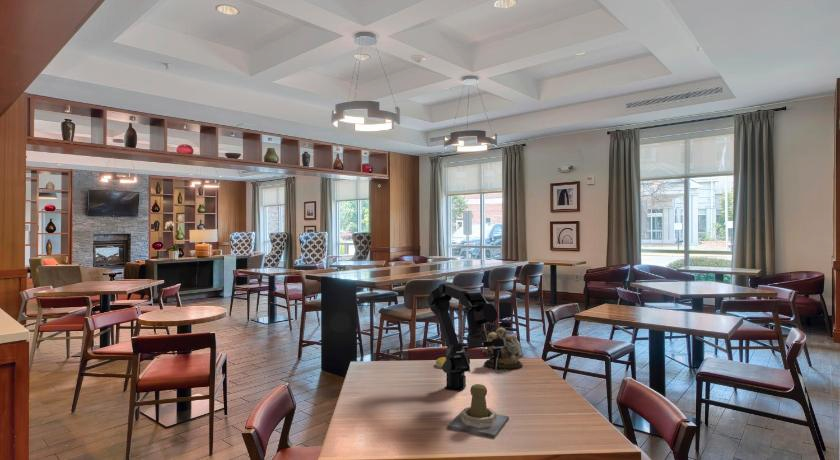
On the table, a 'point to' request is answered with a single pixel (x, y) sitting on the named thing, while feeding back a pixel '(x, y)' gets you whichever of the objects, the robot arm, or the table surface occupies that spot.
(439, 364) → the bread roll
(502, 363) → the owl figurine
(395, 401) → the table surface
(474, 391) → the cork
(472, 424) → the socket
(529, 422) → the table surface
